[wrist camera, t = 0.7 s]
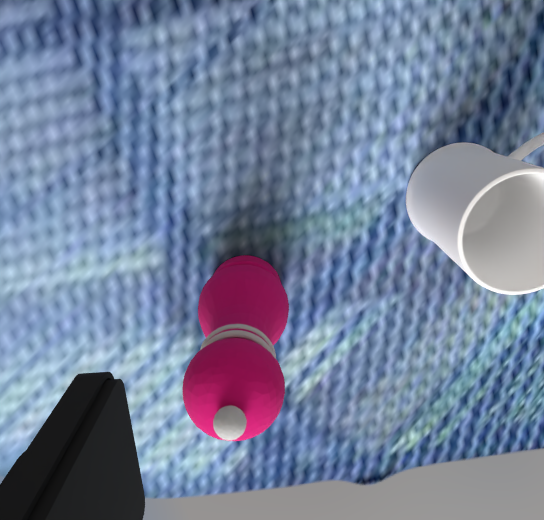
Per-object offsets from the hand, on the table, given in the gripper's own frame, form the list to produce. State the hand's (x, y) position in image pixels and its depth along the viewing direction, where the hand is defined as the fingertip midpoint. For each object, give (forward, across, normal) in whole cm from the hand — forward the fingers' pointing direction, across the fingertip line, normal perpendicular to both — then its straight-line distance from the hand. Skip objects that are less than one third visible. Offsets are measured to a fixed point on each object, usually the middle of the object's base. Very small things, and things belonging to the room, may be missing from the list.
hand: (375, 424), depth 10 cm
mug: (+34, -14, +3) cm, 38 cm away
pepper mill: (+34, +5, +11) cm, 36 cm away
